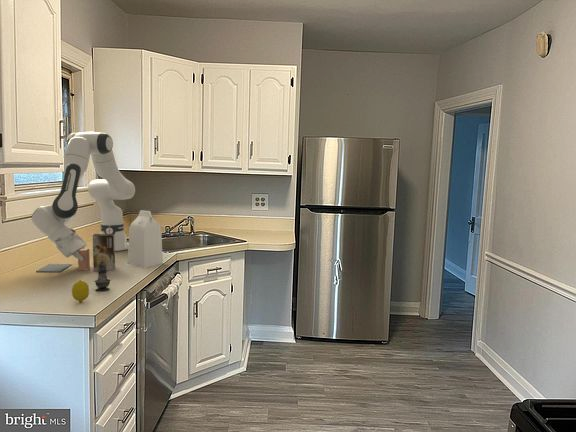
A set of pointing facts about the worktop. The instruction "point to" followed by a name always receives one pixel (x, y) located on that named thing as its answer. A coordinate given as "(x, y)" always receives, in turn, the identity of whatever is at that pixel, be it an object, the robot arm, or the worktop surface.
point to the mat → (54, 268)
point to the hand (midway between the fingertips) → (85, 258)
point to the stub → (86, 262)
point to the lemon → (80, 291)
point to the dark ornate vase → (102, 278)
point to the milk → (145, 241)
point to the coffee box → (104, 250)
